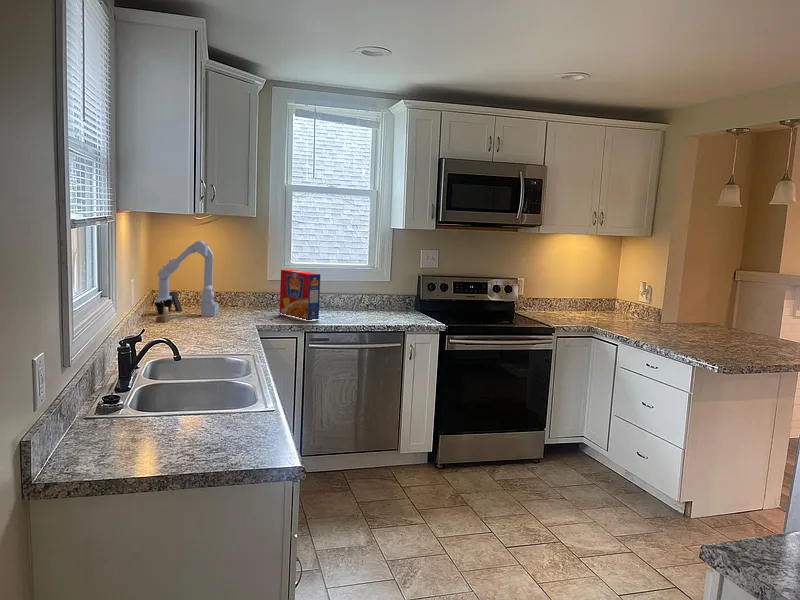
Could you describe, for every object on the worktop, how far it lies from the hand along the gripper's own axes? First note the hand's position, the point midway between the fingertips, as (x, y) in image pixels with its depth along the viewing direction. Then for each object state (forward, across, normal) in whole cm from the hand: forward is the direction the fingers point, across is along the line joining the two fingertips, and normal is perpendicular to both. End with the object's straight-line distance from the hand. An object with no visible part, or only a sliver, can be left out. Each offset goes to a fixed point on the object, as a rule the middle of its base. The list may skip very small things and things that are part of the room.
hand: (163, 313), depth 344 cm
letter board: (+1, +9, +11) cm, 14 cm away
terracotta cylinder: (+2, 0, 0) cm, 2 cm away
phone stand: (+2, -15, -2) cm, 15 cm away
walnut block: (+2, +21, +11) cm, 24 cm away
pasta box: (+2, -28, +71) cm, 76 cm away
